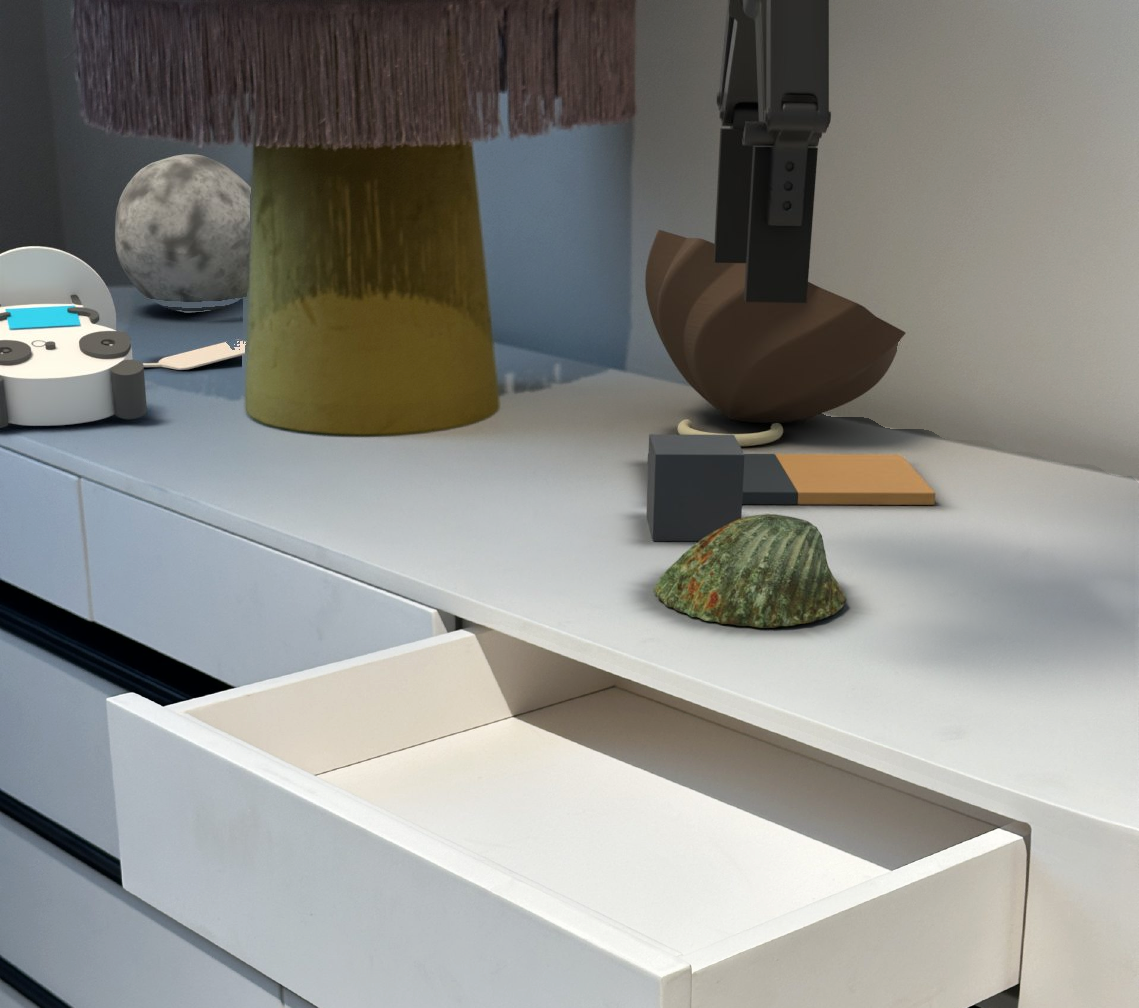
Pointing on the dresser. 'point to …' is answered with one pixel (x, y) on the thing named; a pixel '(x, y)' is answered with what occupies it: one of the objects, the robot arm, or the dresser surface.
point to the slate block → (693, 485)
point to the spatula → (200, 356)
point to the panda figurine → (62, 344)
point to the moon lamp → (185, 231)
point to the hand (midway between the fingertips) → (756, 281)
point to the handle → (742, 439)
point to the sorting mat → (833, 480)
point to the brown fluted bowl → (761, 338)
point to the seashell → (755, 575)
